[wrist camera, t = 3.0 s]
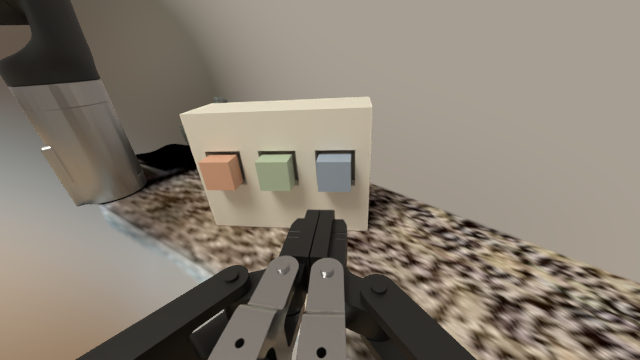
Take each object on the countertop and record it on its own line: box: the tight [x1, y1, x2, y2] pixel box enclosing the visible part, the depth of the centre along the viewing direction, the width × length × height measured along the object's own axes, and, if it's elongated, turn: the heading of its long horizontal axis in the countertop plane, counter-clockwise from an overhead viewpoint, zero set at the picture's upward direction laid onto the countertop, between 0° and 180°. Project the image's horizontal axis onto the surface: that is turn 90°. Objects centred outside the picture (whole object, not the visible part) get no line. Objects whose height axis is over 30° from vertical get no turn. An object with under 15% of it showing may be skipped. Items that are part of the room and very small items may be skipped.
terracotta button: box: [198, 155, 243, 190], centre depth 25 cm, size 2×3×3 cm, turn 82°
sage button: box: [255, 154, 295, 191], centre depth 24 cm, size 2×3×3 cm, turn 82°
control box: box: [179, 97, 373, 231], centre depth 28 cm, size 6×19×14 cm, turn 82°
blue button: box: [316, 154, 351, 192], centre depth 23 cm, size 2×3×3 cm, turn 82°
